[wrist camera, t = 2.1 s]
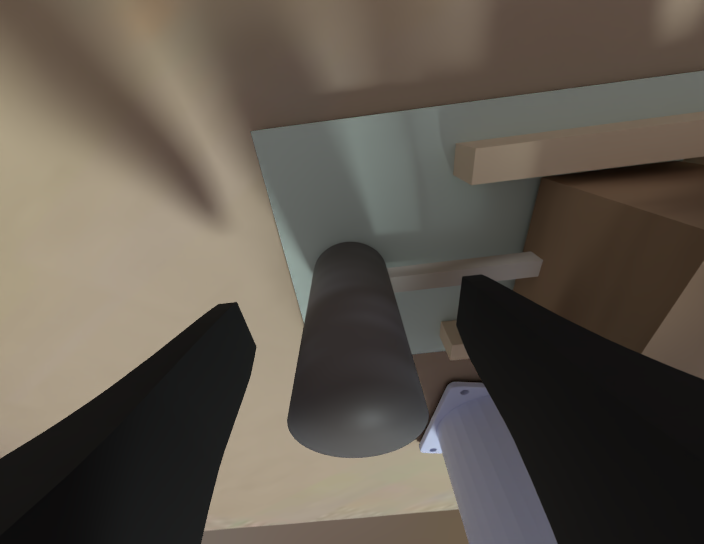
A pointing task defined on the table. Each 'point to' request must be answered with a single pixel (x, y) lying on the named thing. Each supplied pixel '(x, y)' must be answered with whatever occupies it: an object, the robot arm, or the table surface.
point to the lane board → (460, 178)
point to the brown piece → (531, 282)
